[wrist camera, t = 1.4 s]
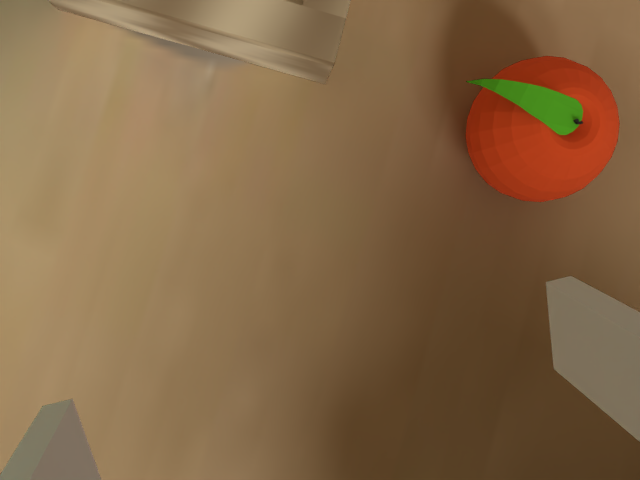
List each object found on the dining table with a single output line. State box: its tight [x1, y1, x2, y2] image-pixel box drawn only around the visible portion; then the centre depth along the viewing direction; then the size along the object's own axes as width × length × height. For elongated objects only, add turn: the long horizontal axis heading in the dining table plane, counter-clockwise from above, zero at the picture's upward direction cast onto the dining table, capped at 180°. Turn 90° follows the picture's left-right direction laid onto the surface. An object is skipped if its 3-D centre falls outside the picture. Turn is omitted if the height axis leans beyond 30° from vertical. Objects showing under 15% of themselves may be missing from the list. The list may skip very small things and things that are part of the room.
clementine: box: [466, 56, 620, 202], centre depth 27 cm, size 8×7×7 cm
